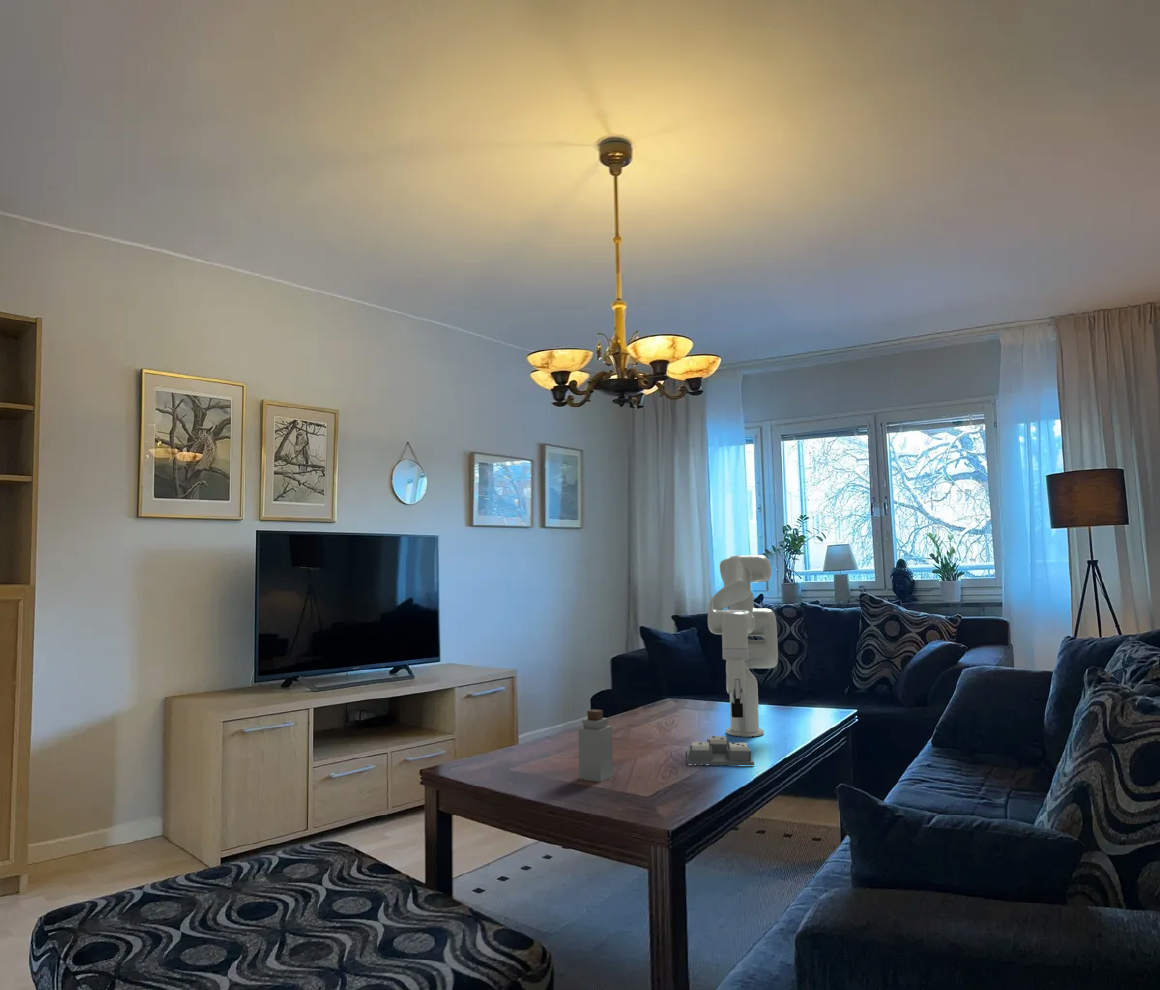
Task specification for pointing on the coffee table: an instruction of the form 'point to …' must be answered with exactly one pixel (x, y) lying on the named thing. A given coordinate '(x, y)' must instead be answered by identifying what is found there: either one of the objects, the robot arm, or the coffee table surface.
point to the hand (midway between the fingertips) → (737, 716)
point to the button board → (719, 756)
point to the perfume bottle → (595, 748)
